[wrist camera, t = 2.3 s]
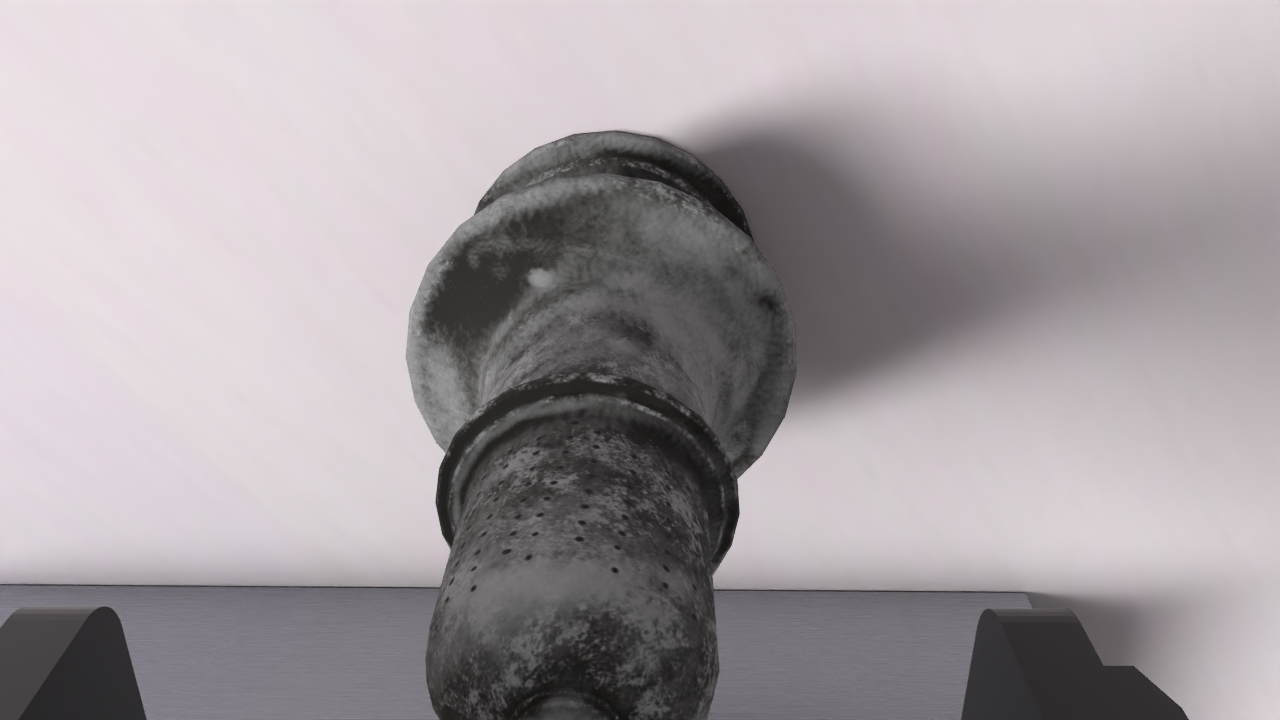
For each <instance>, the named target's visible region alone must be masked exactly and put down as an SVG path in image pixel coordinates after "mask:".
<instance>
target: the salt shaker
mask: <svg viewBox="0 0 1280 720" xmlns="http://www.w3.org/2000/svg"><path fill="white" fill-rule="evenodd" d="M406 360H407V365H408V370H409V374H410V379H411V384H412V389H413V394H414V399H415V402H416V404H417V406H418V408H419V410H420V412H421V414H422V416H423V418H424V420H425V422H426V424H427V426H428V428H429V429H430V431H431V433H432V435H433V437H434V439H435V441H436V443H437V444H438V445H439V446H440V447H441V448H442V449H443V450H444V452H445V453H446V454H445V457H444V459H443V461H442V463H441V465H440V468H439V475H438V484H437V493H436V507H437V512H438V516H439V521H440V526H441V531H442V535H443V537H444V538H445V540H446V542H447V544H448V546H449V547H450V549H451V552H450V555H449V559H448V563H447V566H446V570H445V573H444V577H443V581H442V584H441V588H440V592H439V595H438V599H437V603H436V606H435V610H434V613H433V617H432V621H431V624H430V628H429V632H428V641H427V650H426V659H425V663H426V682H427V686H428V690H429V694H430V699H431V703H432V707H433V710H434V711H435V713H436V715H437V716H438V718H439V720H707V718H708V715H709V711H710V707H711V703H712V700H713V696H714V692H715V688H716V684H717V680H718V676H719V672H720V669H719V656H718V643H717V630H716V617H715V604H714V590H713V577H712V575H713V574H714V573H715V571H716V570H717V568H718V566H719V565H720V563H721V562H722V560H723V558H724V557H725V555H726V553H727V552H728V550H729V549H730V547H731V545H732V541H733V538H734V534H735V530H736V526H737V522H738V518H739V514H740V513H739V498H738V484H737V479H738V478H739V477H740V476H741V475H742V474H743V473H744V472H745V471H746V470H747V469H748V468H749V467H750V466H751V465H752V464H753V463H754V462H755V461H756V460H757V459H758V458H759V457H760V456H761V455H762V454H763V452H764V451H765V449H766V447H767V446H768V444H769V442H770V441H771V439H772V437H773V436H774V434H775V432H776V431H777V429H778V427H779V425H780V424H781V422H782V420H783V419H784V417H785V414H786V410H787V407H788V403H789V399H790V395H791V391H792V387H793V384H794V380H795V376H796V345H795V325H794V322H793V319H792V316H791V313H790V310H789V307H788V304H787V301H786V298H785V295H784V292H783V289H782V286H781V283H780V280H779V278H778V276H777V275H776V273H775V272H774V271H773V269H772V268H771V266H770V265H769V263H768V262H767V261H766V259H765V258H764V256H763V255H762V254H761V252H760V251H759V249H758V248H757V246H756V245H755V244H754V241H753V238H752V235H751V232H750V229H749V226H748V223H747V220H746V217H745V215H744V212H743V210H742V209H741V207H740V206H739V204H738V203H737V201H736V200H735V198H734V197H733V196H732V194H731V193H730V191H729V190H728V188H727V187H726V186H725V184H724V183H723V181H722V180H721V179H720V178H719V177H718V176H716V175H715V174H714V173H713V172H712V171H710V170H709V169H708V168H707V167H705V166H704V165H703V164H702V163H701V162H699V161H698V160H697V159H696V158H695V157H693V156H692V155H691V154H689V153H687V152H684V151H682V150H680V149H678V148H676V147H674V146H671V145H669V144H667V143H665V142H663V141H660V140H658V139H656V138H653V137H647V136H641V135H636V134H630V133H624V132H618V131H606V132H595V133H583V134H573V135H570V136H568V137H565V138H562V139H559V140H557V141H554V142H551V143H548V144H546V145H543V146H540V147H538V148H535V149H534V150H532V151H531V152H530V153H528V154H527V155H525V156H524V157H523V158H521V159H520V160H518V161H517V162H516V163H514V164H513V165H511V166H510V167H509V168H507V169H506V170H504V171H503V173H502V174H501V175H500V176H499V178H498V179H497V180H496V181H495V183H494V184H493V185H492V186H491V188H490V189H489V190H488V191H487V193H486V194H485V195H484V196H483V198H482V199H481V200H480V202H479V204H478V207H477V209H476V211H475V214H474V216H473V217H471V218H470V219H468V220H467V221H466V222H464V223H463V224H461V225H460V226H459V227H458V228H457V230H456V231H455V232H454V233H453V235H452V236H451V237H450V238H449V240H448V241H447V242H446V243H445V245H444V246H443V247H442V248H441V250H440V251H439V252H438V253H437V255H436V256H435V257H434V258H433V260H432V261H431V262H430V263H429V265H428V267H427V269H426V272H425V274H424V277H423V279H422V282H421V284H420V287H419V289H418V292H417V294H416V297H415V299H414V302H413V304H412V307H411V309H410V315H409V327H408V338H407V350H406Z"/></svg>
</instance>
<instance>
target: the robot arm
mask: <svg viewBox="0 0 1280 720" xmlns="http://www.w3.org/2000/svg"><path fill="white" fill-rule="evenodd" d="M0 720H147V719H146V715H145V711H144V707H143V704H142V700H141V696H140V692H139V688H138V685H137V681H136V677H135V673H134V669H133V666H132V662H131V658H130V654H129V650H128V647H127V643H126V639H125V635H124V631H123V628H122V624H121V621H120V619H119V617H118V615H117V614H116V612H115V611H114V610H113V609H111V608H110V607H106V606H26V607H22V608H20V609H18V610H16V611H15V612H14V613H12V614H11V615H10V617H9V618H8V619H7V620H6V621H5V623H4V624H3V625H2V626H1V628H0ZM961 720H1189V719H1188V718H1187V716H1186V714H1185V713H1184V711H1183V709H1182V708H1181V707H1180V706H1179V705H1178V704H1176V703H1175V702H1174V701H1173V700H1172V699H1171V698H1170V697H1168V696H1167V695H1166V694H1165V693H1164V692H1163V691H1161V690H1160V689H1159V688H1158V687H1157V686H1156V685H1155V684H1153V683H1152V682H1151V681H1150V680H1149V679H1148V678H1147V677H1145V676H1144V675H1143V674H1142V673H1141V672H1140V671H1138V670H1137V669H1136V668H1135V667H1134V666H1103V664H1102V662H1101V661H1100V659H1099V657H1098V655H1097V653H1096V651H1095V649H1094V648H1093V646H1092V644H1091V642H1090V640H1089V638H1088V636H1087V635H1086V633H1085V631H1084V629H1083V627H1082V625H1081V623H1080V622H1079V620H1078V618H1077V617H1076V615H1075V614H1074V613H1073V612H1072V611H1070V610H1069V609H985V610H984V611H983V612H982V614H981V616H980V618H979V621H978V625H977V630H976V636H975V642H974V647H973V653H972V659H971V665H970V670H969V676H968V682H967V688H966V693H965V699H964V705H963V711H962V716H961Z"/></svg>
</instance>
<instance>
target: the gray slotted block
mask: <svg viewBox="0 0 1280 720" xmlns="http://www.w3.org/2000/svg"><path fill="white" fill-rule="evenodd" d="M439 592H440V589H431V588H297V587H163V586H29V585H0V628H1V626H2V625H3V624H4V623H5V621H6V620H7V619H8V618H9V617H10V615H11V614H12V613H14V612H15V611H16V610H18V609H20V608H22V607H26V606H106V607H110V608H111V609H113V610H114V611H115V612H116V614H117V615H118V617H119V619H120V621H121V624H122V628H123V631H124V635H125V639H126V643H127V647H128V650H129V654H130V658H131V662H132V666H133V669H134V673H135V677H136V681H137V685H138V688H139V692H140V696H141V700H142V704H143V707H144V711H145V715H146V719H147V720H439V718H438V716H437V715H436V713H435V711H434V710H433V707H432V703H431V699H430V694H429V690H428V686H427V682H426V663H425V659H426V650H427V641H428V632H429V628H430V624H431V621H432V617H433V613H434V610H435V606H436V603H437V599H438V595H439ZM714 604H715V617H716V630H717V643H718V656H719V669H720V672H719V676H718V680H717V684H716V688H715V692H714V696H713V700H712V703H711V707H710V711H709V715H708V718H707V720H961V716H962V711H963V705H964V699H965V693H966V688H967V682H968V676H969V670H970V665H971V659H972V653H973V647H974V642H975V636H976V630H977V625H978V621H979V618H980V616H981V614H982V612H983V611H984V610H985V609H1033V608H1032V606H1031V604H1030V602H1029V600H1028V597H1027V595H1026V593H966V592H832V591H714Z"/></svg>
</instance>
